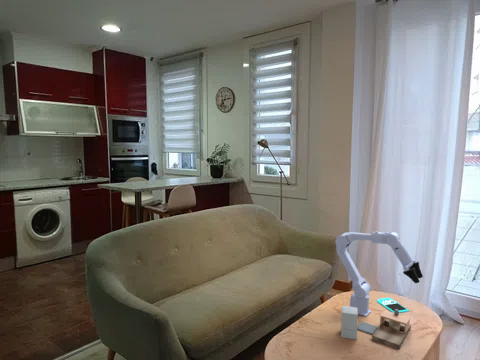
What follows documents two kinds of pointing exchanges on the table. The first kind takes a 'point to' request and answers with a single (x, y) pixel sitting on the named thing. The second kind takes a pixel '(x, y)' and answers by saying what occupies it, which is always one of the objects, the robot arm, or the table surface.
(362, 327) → the slate mat
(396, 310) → the slide cover
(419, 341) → the table surface
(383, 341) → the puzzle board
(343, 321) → the supplement box
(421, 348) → the table surface
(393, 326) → the birch block
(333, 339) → the table surface
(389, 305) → the handheld game console
